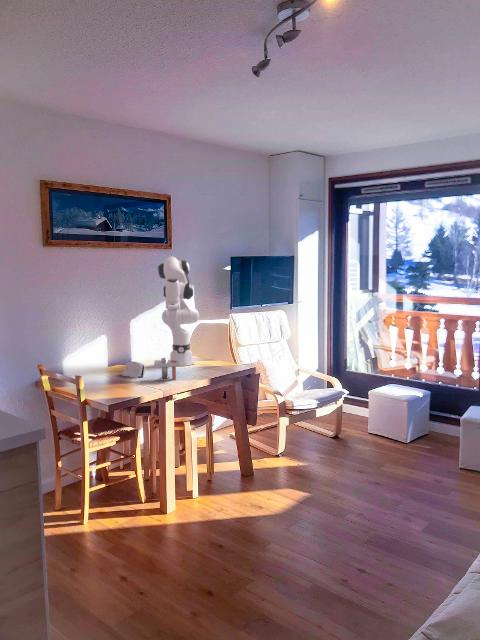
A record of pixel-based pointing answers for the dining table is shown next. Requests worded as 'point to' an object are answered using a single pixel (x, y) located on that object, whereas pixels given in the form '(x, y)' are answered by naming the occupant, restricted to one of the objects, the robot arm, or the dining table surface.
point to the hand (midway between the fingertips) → (173, 327)
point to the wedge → (173, 371)
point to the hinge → (134, 369)
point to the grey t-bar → (165, 367)
